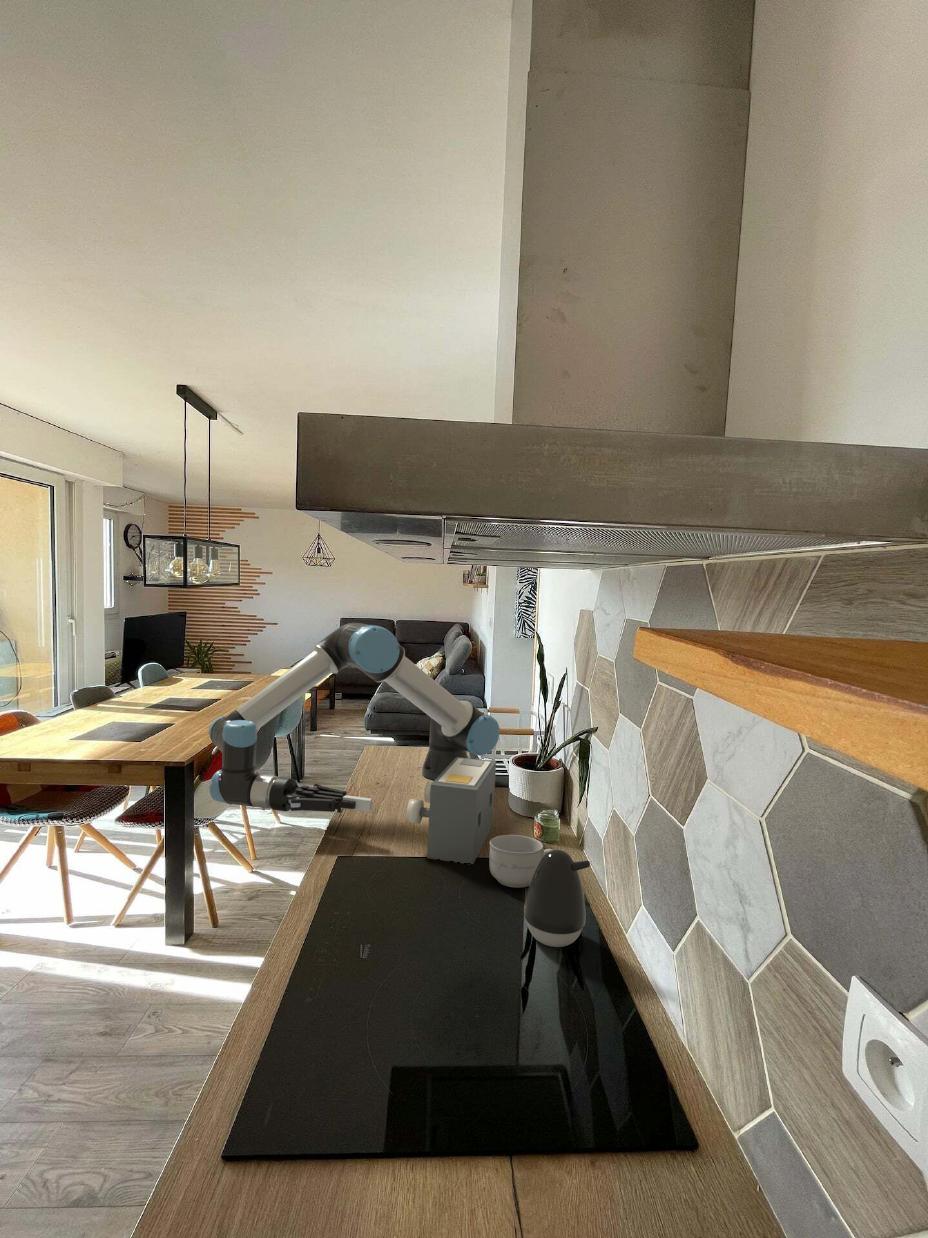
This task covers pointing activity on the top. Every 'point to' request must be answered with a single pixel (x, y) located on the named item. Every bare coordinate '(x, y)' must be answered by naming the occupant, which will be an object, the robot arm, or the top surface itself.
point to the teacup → (515, 859)
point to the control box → (461, 810)
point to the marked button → (416, 811)
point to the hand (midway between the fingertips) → (370, 805)
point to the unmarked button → (427, 792)
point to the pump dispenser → (556, 900)
